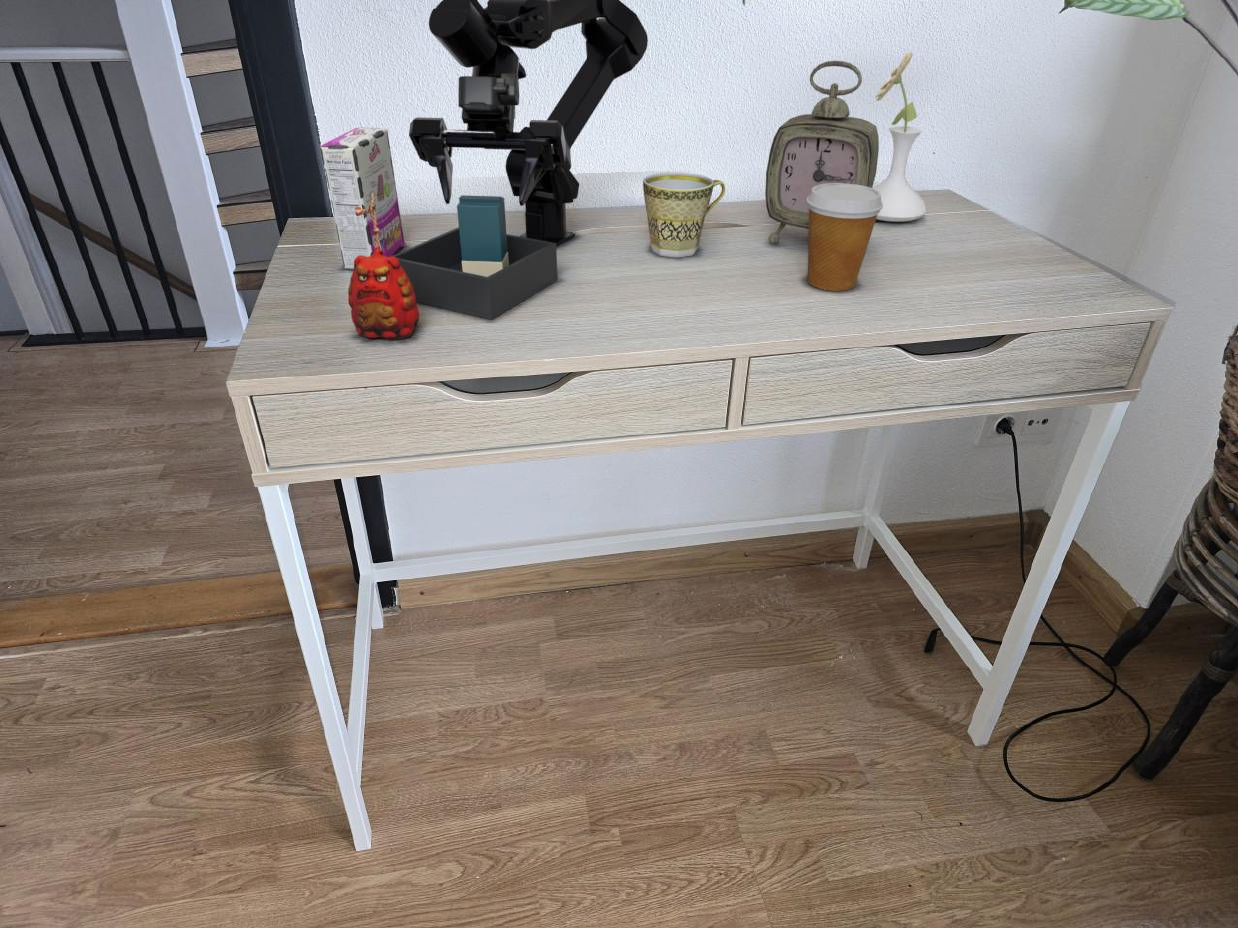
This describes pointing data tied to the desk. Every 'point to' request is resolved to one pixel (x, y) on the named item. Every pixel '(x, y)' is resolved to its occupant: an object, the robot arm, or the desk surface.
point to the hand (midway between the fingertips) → (483, 203)
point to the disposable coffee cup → (839, 232)
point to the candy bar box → (363, 192)
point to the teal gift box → (482, 234)
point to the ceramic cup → (677, 210)
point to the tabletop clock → (818, 154)
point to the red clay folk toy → (381, 293)
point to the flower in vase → (900, 161)
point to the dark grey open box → (487, 297)
